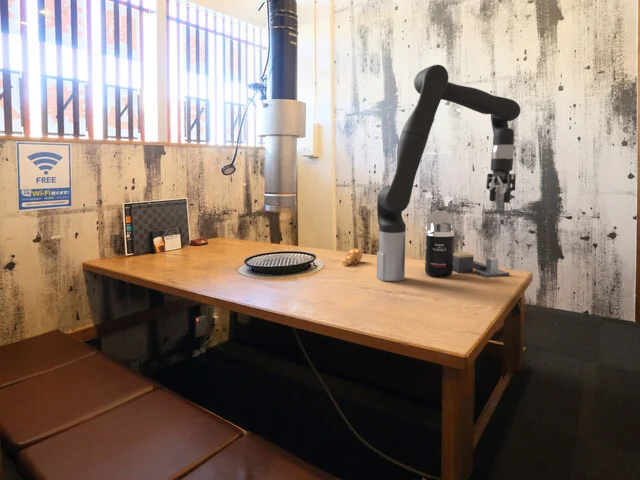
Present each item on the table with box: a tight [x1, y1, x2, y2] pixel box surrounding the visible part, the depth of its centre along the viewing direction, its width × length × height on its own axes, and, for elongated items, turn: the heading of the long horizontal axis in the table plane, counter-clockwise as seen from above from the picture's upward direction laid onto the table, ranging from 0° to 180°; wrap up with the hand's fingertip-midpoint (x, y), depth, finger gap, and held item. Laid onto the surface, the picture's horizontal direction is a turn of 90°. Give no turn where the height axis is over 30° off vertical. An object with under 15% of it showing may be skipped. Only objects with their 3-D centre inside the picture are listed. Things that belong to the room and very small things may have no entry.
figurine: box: [341, 248, 363, 267], centre depth 186 cm, size 8×6×12 cm
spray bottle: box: [424, 207, 456, 278], centre depth 164 cm, size 10×10×25 cm
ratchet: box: [473, 257, 510, 278], centre depth 170 cm, size 10×16×6 cm, turn 12°
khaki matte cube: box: [453, 251, 475, 274], centre depth 171 cm, size 6×6×7 cm
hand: (499, 201), depth 166 cm, fingers open, 8 cm apart
